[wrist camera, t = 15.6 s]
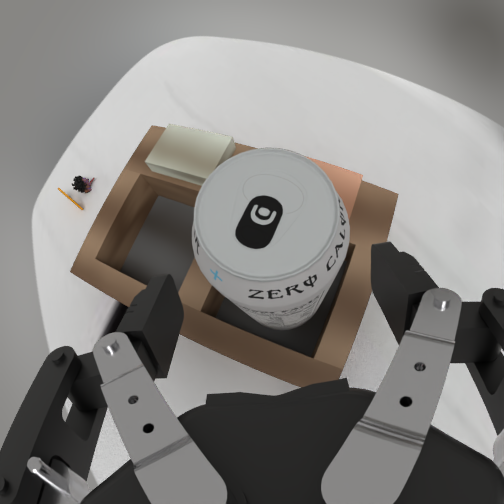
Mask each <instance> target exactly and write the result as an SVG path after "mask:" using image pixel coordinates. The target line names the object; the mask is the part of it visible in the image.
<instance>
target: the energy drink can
mask: <svg viewBox="0 0 504 504" xmlns="http://www.w3.org/2000/svg"><path fill="white" fill-rule="evenodd" d="M349 241H350V225H349V219H348V214H347V211H346V208H345V206H344V204H343V201H342V199H341V198H340V196H339V195H338V193H337V192H336V190H335V188H334V186H333V183H332V181H331V180H330V179H329V177H328V176H327V174H326V173H325V172H324V171H323V170H322V169H321V168H320V167H319V166H318V165H317V164H316V163H315V162H313V161H311V160H310V159H308V158H307V157H305V156H303V155H301V154H298V153H296V152H293V151H290V150H285V149H280V148H260V149H253V150H249V151H246V152H242V153H239V154H237V155H235V156H233V157H231V158H229V159H228V160H226V161H225V162H223V163H222V164H220V165H219V166H218V167H217V168H216V169H215V170H214V171H213V172H212V173H211V174H210V175H209V176H208V178H207V179H206V180H205V182H204V183H203V185H202V186H201V189H200V191H199V193H198V196H197V198H196V202H195V207H194V221H193V226H192V246H193V251H194V256H195V259H196V261H197V264H198V266H199V268H200V270H201V272H202V273H203V275H204V276H205V277H206V279H207V280H208V282H209V283H210V284H211V285H212V286H213V287H215V288H216V289H217V290H218V291H219V292H220V293H221V294H223V295H224V296H225V297H226V298H228V299H229V300H230V301H231V302H233V303H234V304H235V305H236V306H238V307H239V308H240V309H241V310H243V311H244V312H245V313H247V314H248V315H249V316H250V317H252V318H253V319H254V320H256V321H257V322H258V323H260V324H261V325H263V326H265V327H267V328H271V329H274V330H290V329H293V328H297V327H299V326H301V325H303V324H305V323H306V322H307V321H308V320H309V319H311V318H312V316H313V315H314V314H315V313H316V311H317V309H318V308H319V306H320V304H321V302H322V301H323V299H324V297H325V295H326V293H327V292H328V290H329V288H330V286H331V284H332V283H333V281H334V279H335V277H336V275H337V273H338V271H339V269H340V267H341V265H342V263H343V261H344V259H345V257H346V254H347V250H348V246H349Z"/></svg>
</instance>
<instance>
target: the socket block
mask: <svg viewBox="0 0 504 504" xmlns="http://www.w3.org/2000/svg"><path fill="white" fill-rule="evenodd" d="M253 149H258V148H254V147H250V146H246V145H242V144H238V143H234V140H233V137H230V136H226V135H222V134H217V133H212V132H208V131H203V130H198V129H193V128H188V127H183V126H178V125H173V124H169V125H168V126H167V128H164V127H158V126H153V125H152V126H151V128H150V129H149V131H148V132H147V133H146V135H145V136H144V138H143V139H142V141H141V143H140V144H139V146H138V147H137V149H136V150H135V152H134V153H133V155H132V157H131V158H130V160H129V161H128V163H127V165H126V166H125V168H124V169H123V171H122V173H121V174H120V176H119V178H118V179H117V181H116V183H115V185H114V186H113V188H112V190H111V192H110V193H109V195H108V197H107V199H106V200H105V202H104V204H103V206H102V208H101V210H100V211H99V213H98V215H97V217H96V219H95V221H94V223H93V225H92V227H91V229H90V231H89V233H88V235H87V237H86V239H85V241H84V243H83V245H82V247H81V249H80V251H79V253H78V255H77V257H76V260H75V262H74V264H73V266H72V268H71V271H70V272H71V273H73V274H74V275H76V276H77V277H79V278H81V279H82V280H84V281H85V282H87V283H89V284H90V285H92V286H94V287H95V288H97V289H99V290H100V291H102V292H104V293H105V294H107V295H109V296H110V297H112V298H114V299H116V300H117V301H119V302H121V303H123V304H124V305H126V306H128V307H130V304H131V302H132V300H133V299H134V297H135V296H136V295H137V294H138V293H139V292H140V291H141V290H143V289H146V287H147V285H148V283H149V281H150V279H151V278H152V277H153V276H159V275H166V274H170V275H171V276H172V277H173V280H174V282H175V285H176V288H177V291H178V294H179V297H180V299H181V302H182V305H183V310H184V320H183V323H182V327H181V330H180V333H179V334H181V335H183V336H185V337H187V338H189V339H191V340H193V341H195V342H197V343H199V344H201V345H203V346H205V347H207V348H209V349H212V350H214V351H216V352H218V353H220V354H222V355H224V356H227V357H229V358H231V359H233V360H236V361H238V362H240V363H242V364H245V365H247V366H249V367H252V368H254V369H256V370H259V371H261V372H263V373H266V374H268V375H271V376H273V377H276V378H278V379H281V380H283V381H286V382H288V383H291V384H293V385H296V386H299V387H301V388H302V387H305V386H308V385H310V384H315V383H321V382H327V381H333V380H338V379H339V377H340V375H341V372H342V370H343V368H344V365H345V363H346V360H347V358H348V355H349V353H350V350H351V348H352V345H353V342H354V340H355V337H356V334H357V332H358V329H359V326H360V324H361V321H362V318H363V315H364V312H365V309H366V307H367V304H368V301H369V298H370V295H371V292H372V287H371V246H372V244H377V243H383V242H387V238H388V234H389V230H390V227H391V223H392V219H393V215H394V211H395V207H396V202H397V198H398V194H397V193H394V192H392V191H389V190H387V189H384V188H381V187H378V186H376V185H373V184H370V183H367V182H365V181H362V177H363V175H361V174H358V173H356V172H353V171H350V170H347V169H344V168H341V167H338V166H335V165H331V164H328V163H325V162H322V161H319V160H316V159H312V158H309V157H307V158H308V159H310V160H311V161H313V162H315V163H316V164H317V165H318V166H319V167H320V168H321V169H322V170H323V171H324V172H325V173H326V174H327V176H328V177H329V179H330V180H331V181H332V183H333V186H334V188H335V190H336V192H337V193H338V195H339V196H340V198H341V199H342V201H343V204H344V206H345V208H346V211H347V214H348V219H349V225H350V241H349V246H348V250H347V254H346V257H345V259H344V261H343V263H342V265H341V267H340V269H339V271H338V273H337V275H336V277H335V279H334V281H333V283H332V284H331V286H330V288H329V290H328V292H327V293H326V295H325V297H324V299H323V301H322V302H321V304H320V306H319V308H318V309H317V311H316V313H315V314H314V315H313V316H312V318H311V319H309V320H308V321H307V322H306V323H305V324H303V325H301V326H299V327H297V328H293V329H290V330H274V329H271V328H267V327H265V326H263V325H261V324H260V323H258V322H257V321H256V320H254V319H253V318H252V317H250V316H249V315H248V314H247V313H245V312H244V311H243V310H241V309H240V308H239V307H238V306H236V305H235V304H234V303H233V302H231V301H230V300H229V299H228V298H226V297H225V296H224V295H223V294H221V293H220V292H219V291H218V290H217V289H216V288H215V287H213V286H212V285H211V284H210V283H209V282H208V280H207V279H206V277H205V276H204V275H203V273H202V272H201V270H200V268H199V266H198V264H197V261H196V259H195V256H194V251H193V246H192V226H193V221H194V207H195V202H196V198H197V196H198V193H199V191H200V189H201V186H202V185H203V183H204V182H205V180H206V179H207V178H208V176H209V175H210V174H211V173H212V172H213V171H214V170H215V169H216V168H217V167H218V166H219V165H220V164H222V163H223V162H225V161H226V160H228V159H229V158H231V157H233V156H235V155H237V154H239V153H242V152H246V151H249V150H253ZM305 157H306V156H305Z"/></svg>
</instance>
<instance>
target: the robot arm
mask: <svg viewBox="0 0 504 504" xmlns="http://www.w3.org/2000/svg"><path fill="white" fill-rule="evenodd" d="M371 287H372V291H373V294H374V296H375V298H376V300H377V302H378V304H379V305H380V307H381V309H382V311H383V313H384V315H385V317H386V319H387V322H388V324H389V326H390V328H391V330H392V332H393V334H394V336H395V338H396V340H397V342H398V344H399V347H398V349H397V352H396V354H395V356H394V358H393V360H392V362H391V365H390V367H389V369H388V371H387V373H386V375H385V377H384V379H383V381H382V383H381V385H380V387H379V389H378V391H377V392H373V391H370V390H365V389H359V388H349V385H348V381H347V378H344V379H338V380H333V381H327V382H321V383H315V384H310V385H308V386H305V387H302V388H299V389H296V390H293V391H290V392H287V393H284V394H281V395H278V396H270V395H260V394H252V393H243V392H236V393H220V394H207V399H206V404H205V405H201V406H199V407H196V408H193V409H191V410H189V411H187V412H185V413H184V414H182V415H180V416H179V417H178V418H176V416H175V415H174V413H173V412H172V410H171V409H170V407H169V406H168V404H167V402H166V401H165V399H164V398H163V396H162V395H161V393H160V391H159V390H158V388H157V387H156V385H155V383H154V381H155V378H167V375H168V371H169V368H170V364H171V361H172V357H173V354H174V350H175V347H176V343H177V340H178V337H179V333H180V330H181V327H182V323H183V320H184V310H183V305H182V302H181V299H180V297H179V294H178V291H177V288H176V285H175V282H174V280H173V277H172V276H171V275H170V274H166V275H159V276H153V277H152V278H151V279H150V281H149V283H148V285H147V287H146V289H143V290H141V291H140V292H139V293H138V294H137V295H136V296H135V297H134V299H133V300H132V302H131V304H130V307H129V308H128V310H127V311H126V312H127V313H125V315H124V317H123V319H122V321H121V323H120V325H119V326H118V328H117V330H116V332H114V333H110V334H108V335H106V336H104V337H102V338H101V339H100V340H98V342H97V343H96V344H95V346H94V348H93V352H90V353H86V354H83V355H79V356H77V354H76V353H75V351H74V350H73V348H72V347H69V346H63V347H60V348H57V349H55V350H54V351H53V352H51V353H50V354H49V355H48V357H47V358H46V360H45V361H44V363H43V365H42V367H41V368H40V370H39V372H38V374H37V376H36V378H35V380H34V381H33V383H32V385H31V387H30V389H29V391H28V393H27V395H26V397H25V399H24V401H23V403H22V405H21V407H20V409H19V411H18V413H17V415H16V417H15V419H14V421H13V424H12V425H11V428H10V430H9V432H8V434H7V437H6V439H5V441H4V443H3V446H2V448H1V451H0V504H504V356H503V354H502V353H501V351H500V350H501V348H502V349H503V351H504V290H503V289H500V288H491V289H488V290H486V291H485V292H484V293H483V296H482V300H481V302H462V301H461V298H460V297H459V295H458V294H456V293H455V292H453V291H452V290H449V289H445V288H439V287H438V286H437V285H436V284H435V282H434V281H433V280H432V279H431V277H430V276H429V275H428V274H427V272H426V271H424V269H423V268H422V266H421V265H419V263H418V262H417V260H416V259H415V258H414V257H413V256H411V255H409V254H407V253H406V252H399V251H398V250H397V249H396V248H395V246H394V245H393V244H392V243H391V242H383V243H377V244H372V246H371ZM450 363H465V364H466V366H467V368H468V370H469V372H470V374H471V376H472V378H473V380H474V382H475V384H476V386H477V389H478V391H479V393H480V395H481V397H482V399H483V402H484V404H485V406H486V409H487V411H488V413H489V416H490V418H491V420H492V423H493V425H494V428H495V430H496V433H497V435H498V436H497V438H496V440H495V442H494V445H493V454H494V460H493V461H492V460H490V459H489V458H487V457H486V456H484V455H482V454H481V453H479V452H477V451H475V450H473V449H472V448H470V447H468V446H466V445H465V444H463V443H461V442H459V441H458V440H456V439H454V438H452V437H451V436H449V435H447V434H446V433H444V432H442V431H441V430H439V429H437V428H436V427H434V426H432V425H431V421H432V419H433V416H434V413H435V410H436V407H437V404H438V401H439V398H440V395H441V392H442V389H443V386H444V382H445V379H446V376H447V372H448V368H449V365H450ZM67 397H68V398H69V400H70V401H71V402H72V403H73V404H72V407H71V409H70V412H69V414H68V417H67V419H66V422H65V421H64V420H63V418H62V408H63V406H64V403H65V401H66V399H67ZM107 408H109V410H110V413H111V415H112V418H113V420H114V422H115V425H116V427H117V429H118V432H119V434H120V436H121V438H122V441H123V443H124V445H125V447H126V449H127V451H128V453H129V456H130V458H131V459H130V460H129V461H127V462H126V463H125V464H124V465H123V466H122V467H120V468H119V469H118V470H117V471H116V472H114V473H113V474H112V475H111V476H110V477H108V478H107V479H106V480H105V481H104V482H102V483H101V484H100V485H99V486H97V487H96V488H95V489H94V490H92V491H91V492H90V491H89V486H88V484H87V482H86V481H87V477H88V473H89V470H90V466H91V462H92V458H93V455H94V451H95V448H96V444H97V441H98V437H99V434H100V431H101V427H102V424H103V421H104V417H105V414H106V411H107Z"/></svg>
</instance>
